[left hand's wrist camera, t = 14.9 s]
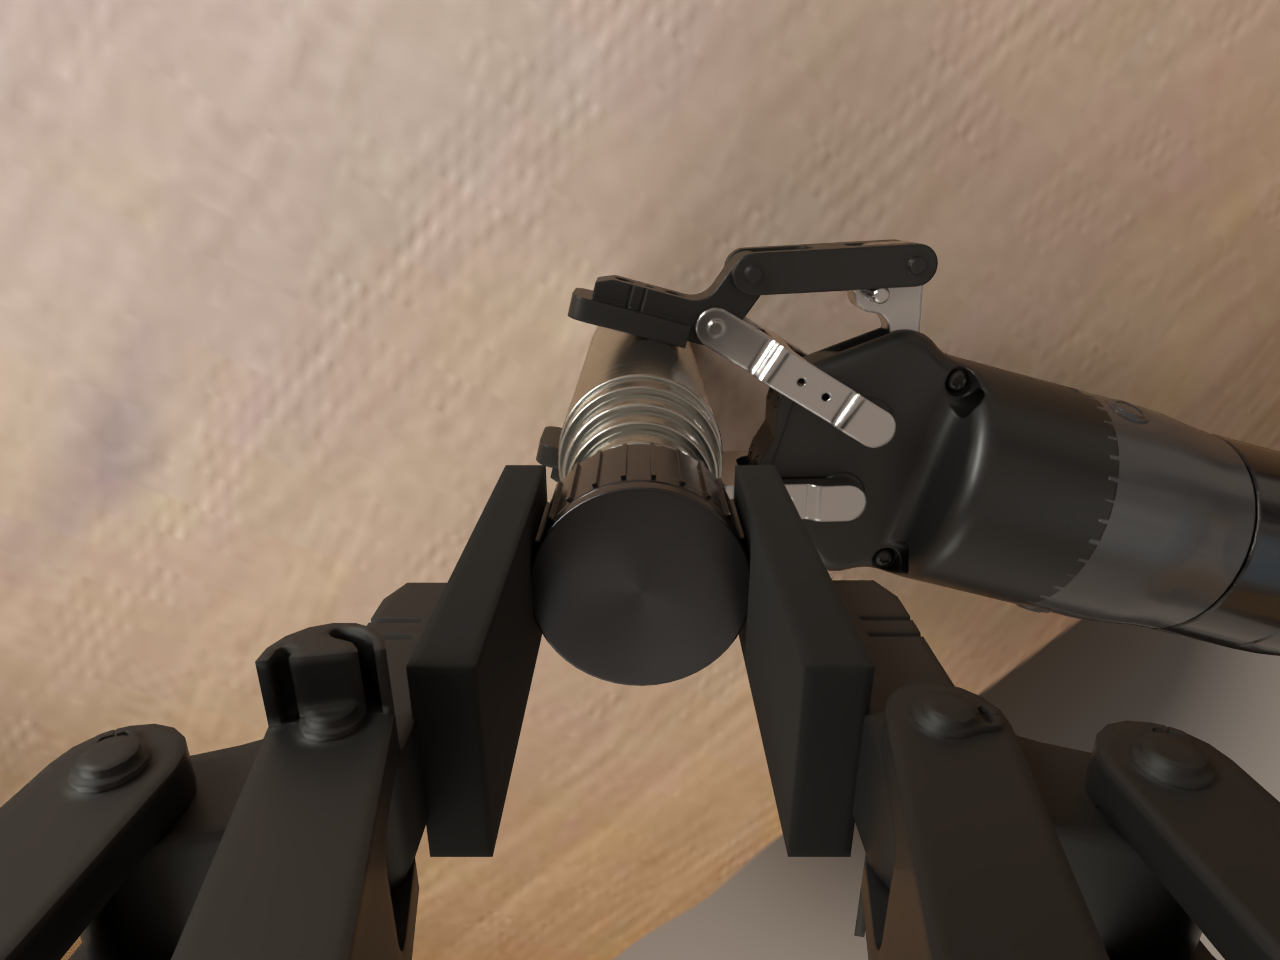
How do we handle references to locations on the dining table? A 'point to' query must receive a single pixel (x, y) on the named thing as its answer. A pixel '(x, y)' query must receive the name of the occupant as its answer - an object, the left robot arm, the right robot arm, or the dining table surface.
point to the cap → (640, 566)
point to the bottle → (639, 402)
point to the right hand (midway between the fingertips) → (558, 374)
